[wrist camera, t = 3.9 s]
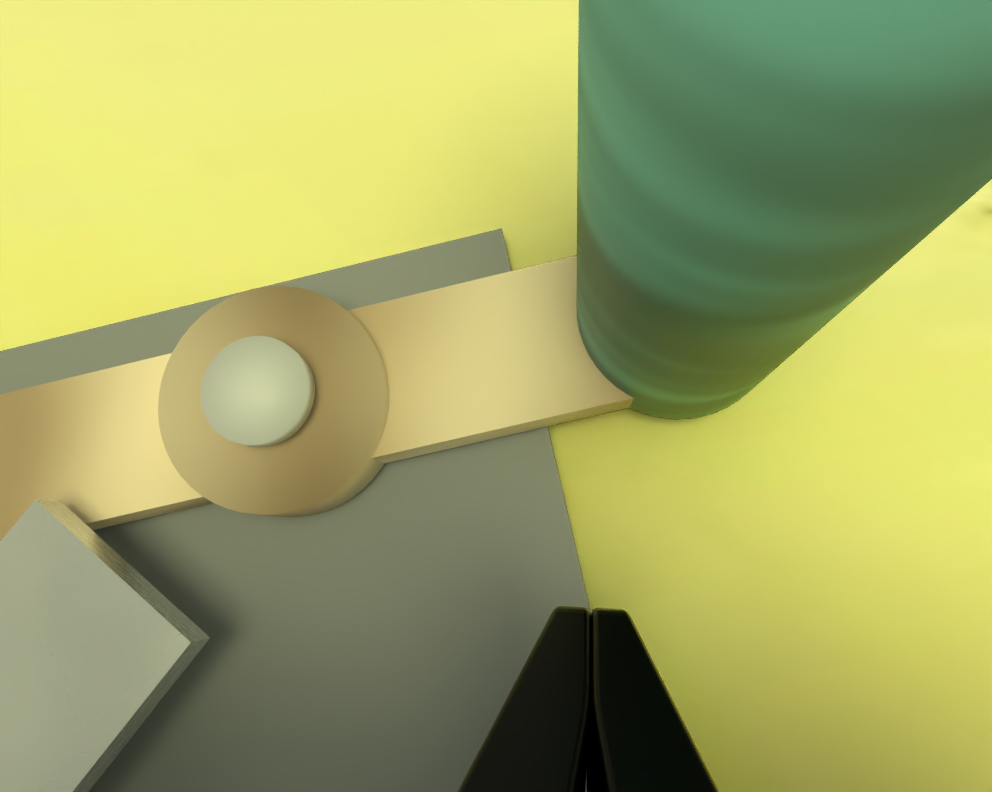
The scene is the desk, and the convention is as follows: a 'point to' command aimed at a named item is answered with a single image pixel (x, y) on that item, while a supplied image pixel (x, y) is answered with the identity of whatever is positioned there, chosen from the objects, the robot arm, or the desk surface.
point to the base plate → (336, 574)
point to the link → (579, 265)
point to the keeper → (77, 651)
